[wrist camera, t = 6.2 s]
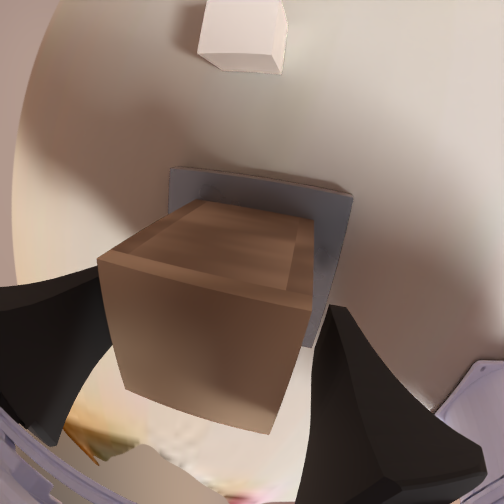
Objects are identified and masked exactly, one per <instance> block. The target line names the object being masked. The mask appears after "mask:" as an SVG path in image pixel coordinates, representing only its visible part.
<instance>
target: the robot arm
mask: <svg viewBox="0 0 504 504" xmlns="http://www.w3.org/2000/svg"><path fill="white" fill-rule="evenodd" d="M112 345H113V344H112V340H111V336H110V331H109V327H108V322H107V318H106V313H105V308H104V303H103V297H102V291H101V285H100V279H99V272H98V266H95V267H91V268H88V269H85V270H82V271H79V272H75V273H72V274H68V275H65V276H61V277H58V278H54V279H50V280H46V281H42V282H37V283H31V284H25V285H17V286H9V287H0V504H63V503H62V502H60V501H59V500H57V499H56V498H54V497H53V496H52V495H50V494H49V493H50V491H51V490H52V488H53V487H54V486H53V484H52V483H51V482H50V481H48V480H47V479H46V478H45V477H43V476H42V475H41V474H40V473H39V472H37V471H36V470H35V469H34V468H33V467H31V466H30V465H29V464H28V463H27V462H26V461H24V460H23V459H22V458H21V457H20V456H19V455H18V454H17V453H16V451H15V444H16V445H17V446H18V447H19V448H21V450H22V451H23V452H25V453H26V454H27V455H28V456H29V457H30V458H31V459H32V460H34V461H35V462H36V463H37V464H38V465H40V466H41V467H42V468H43V469H44V470H46V471H47V472H48V473H50V474H51V475H52V476H53V477H55V478H56V479H58V480H59V481H60V482H62V483H63V484H64V485H66V486H67V487H69V488H70V489H72V490H73V491H74V492H76V493H78V494H79V495H81V496H82V497H84V498H85V499H87V500H88V501H90V502H92V503H93V504H137V503H135V502H133V501H131V500H128V499H126V498H124V497H122V496H120V495H118V494H117V493H115V492H113V491H111V490H109V489H107V488H105V487H104V486H102V485H100V484H98V483H97V482H95V481H93V480H92V479H90V478H88V477H87V476H85V475H84V474H82V473H80V472H79V471H77V470H76V469H74V468H73V467H71V466H70V465H68V464H67V463H66V462H64V461H63V460H61V459H60V458H59V457H57V456H56V455H55V454H53V453H52V452H51V451H49V450H48V449H47V448H45V447H44V446H43V445H41V444H40V443H39V442H38V441H37V440H35V439H34V438H33V437H32V436H31V435H30V434H29V433H27V432H26V431H25V430H24V429H23V428H22V427H21V426H20V425H19V423H20V424H21V425H22V426H23V427H24V428H25V429H28V430H29V431H31V432H32V433H33V434H34V435H35V436H36V437H38V438H39V439H40V440H42V441H43V442H44V443H45V444H46V445H48V446H50V447H51V446H56V445H57V443H58V440H59V437H60V434H61V431H62V429H63V426H64V423H65V420H66V418H67V416H68V414H69V412H70V409H71V407H72V405H73V403H74V401H75V399H76V397H77V395H78V393H79V392H80V390H81V388H82V386H83V384H84V383H85V381H86V379H87V378H88V376H89V375H90V373H91V371H92V370H93V368H94V367H95V366H96V364H97V363H98V361H99V360H100V359H101V358H102V357H103V355H104V354H105V353H106V352H107V351H108V349H109V348H110V347H111V346H112ZM14 443H15V444H14ZM459 498H460V504H504V361H493V360H479V361H477V362H475V363H474V364H473V365H472V367H471V368H470V370H469V371H468V373H467V374H466V375H465V377H464V378H463V380H462V381H461V382H460V384H459V385H458V386H457V388H456V389H455V390H454V391H453V393H452V394H451V395H450V396H449V398H448V399H447V400H446V401H445V402H444V404H443V405H442V406H441V407H440V408H439V410H438V411H437V412H436V413H435V414H433V413H431V412H430V411H429V410H428V409H427V408H426V407H425V406H424V405H422V404H421V403H420V402H419V401H418V400H417V399H416V398H415V397H414V396H413V395H412V394H411V393H410V392H409V391H408V390H407V389H406V388H405V387H404V386H403V385H402V384H401V383H400V382H399V380H398V379H397V378H396V377H395V376H394V375H393V374H392V372H391V371H390V370H389V369H388V368H387V366H386V365H385V364H384V362H383V361H382V360H381V358H380V357H379V356H378V355H377V353H376V352H375V350H374V349H373V348H372V346H371V345H370V343H369V342H368V340H367V339H366V337H365V336H364V334H363V333H362V331H361V330H360V328H359V327H358V325H357V323H356V322H355V320H354V319H353V317H352V315H351V314H350V312H349V311H348V309H347V308H346V307H340V306H335V305H330V304H329V307H328V310H327V314H326V317H325V320H324V323H323V326H322V329H321V332H320V334H319V337H318V340H317V343H316V346H315V349H314V357H313V365H312V373H311V421H310V434H309V441H308V447H307V452H306V458H305V463H304V468H303V472H302V477H301V482H300V486H299V490H298V493H297V497H296V501H295V504H450V503H452V502H454V501H455V500H457V499H459Z"/></svg>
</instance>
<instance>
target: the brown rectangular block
mask: <svg viewBox="0 0 504 504" xmlns="http://www.w3.org/2000/svg"><path fill="white" fill-rule="evenodd" d="M97 265H98V272H99V279H100V285H101V291H102V297H103V303H104V308H105V313H106V318H107V322H108V327H109V331H110V336H111V340H112V344H113V348H114V352H115V355H116V359H117V363H118V366H119V370H120V373H121V377H122V380H123V383H124V386H125V389H126V390H129V391H131V392H133V393H135V394H138V395H140V396H143V397H145V398H147V399H150V400H152V401H155V402H157V403H160V404H163V405H165V406H168V407H171V408H173V409H176V410H179V411H182V412H185V413H188V414H191V415H194V416H197V417H200V418H203V419H207V420H210V421H213V422H217V423H221V424H224V425H228V426H232V427H236V428H240V429H244V430H248V431H253V432H257V433H262V434H267V435H269V434H270V432H271V429H272V427H273V424H274V422H275V419H276V416H277V414H278V411H279V408H280V406H281V403H282V400H283V398H284V395H285V392H286V389H287V387H288V384H289V381H290V378H291V375H292V372H293V369H294V367H295V364H296V361H297V358H298V354H299V351H300V348H301V345H302V342H303V339H304V336H305V333H306V329H307V326H308V323H309V319H310V316H311V313H312V298H313V268H314V220H311V219H306V218H301V217H296V216H291V215H285V214H280V213H275V212H269V211H264V210H258V209H253V208H247V207H241V206H235V205H229V204H223V203H217V202H211V201H205V200H198V199H195V200H193V201H192V202H190V203H188V204H186V205H184V206H182V207H181V208H179V209H177V210H175V211H174V212H172V213H170V214H168V215H167V216H165V217H163V218H161V219H160V220H158V221H156V222H155V223H153V224H151V225H150V226H148V227H146V228H144V229H143V230H141V231H140V232H138V233H136V234H135V235H133V236H131V237H130V238H128V239H126V240H125V241H123V242H122V243H120V244H118V245H117V246H115V247H114V248H112V249H111V250H109V251H107V252H106V253H104V254H103V255H101V256H100V257H98V258H97Z"/></svg>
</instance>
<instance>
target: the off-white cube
mask: <svg viewBox="0 0 504 504" xmlns="http://www.w3.org/2000/svg"><path fill="white" fill-rule="evenodd" d="M287 30H288V23H287V19H286V15H285V11H284V8H283V4H282V1H281V0H207V4H206V8H205V13H204V18H203V23H202V28H201V34H200V39H199V45H198V51H197V54H198V55H200V56H201V57H203V58H205V59H206V60H208V61H209V62H211V63H212V64H214V65H215V66H216V67H218V68H219V69H221V70H222V71H238V72H256V73H268V74H278V75H282V68H283V61H284V53H285V46H286V38H287Z"/></svg>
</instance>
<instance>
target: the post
mask: <svg viewBox="0 0 504 504" xmlns="http://www.w3.org/2000/svg"><path fill="white" fill-rule="evenodd" d="M195 199H198V200H205V201H211V202H217V203H223V204H229V205H235V206H241V207H247V208H253V209H258V210H264V211H269V212H275V213H280V214H285V215H291V216H296V217H301V218H306V219H311V220H314V268H313V298H312V313H311V316H310V319H309V323H308V326H307V329H306V333H305V336H304V339H303V342H302V345H301V346H304V347H309V348H312V345H313V342H314V339H315V336H316V333H317V330H318V327H319V324H320V321H321V318H322V315H323V311H324V308H325V305H326V302H327V299H328V295H329V292H330V288H331V285H332V282H333V278H334V275H335V271H336V267H337V264H338V260H339V256H340V253H341V249H342V245H343V241H344V237H345V233H346V229H347V224H348V220H349V216H350V212H351V207H352V202H353V196H352V195H351V194H348V193H344V192H339V191H334V190H330V189H325V188H320V187H315V186H310V185H305V184H299V183H294V182H288V181H283V180H277V179H271V178H265V177H258V176H252V175H245V174H238V173H231V172H223V171H215V170H207V169H198V168H189V167H179V166H178V167H173V168H170V180H169V203H168V214H170V213H172V212H174V211H175V210H177V209H179V208H181V207H182V206H184V205H186V204H188V203H190V202H192V201H193V200H195Z"/></svg>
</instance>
